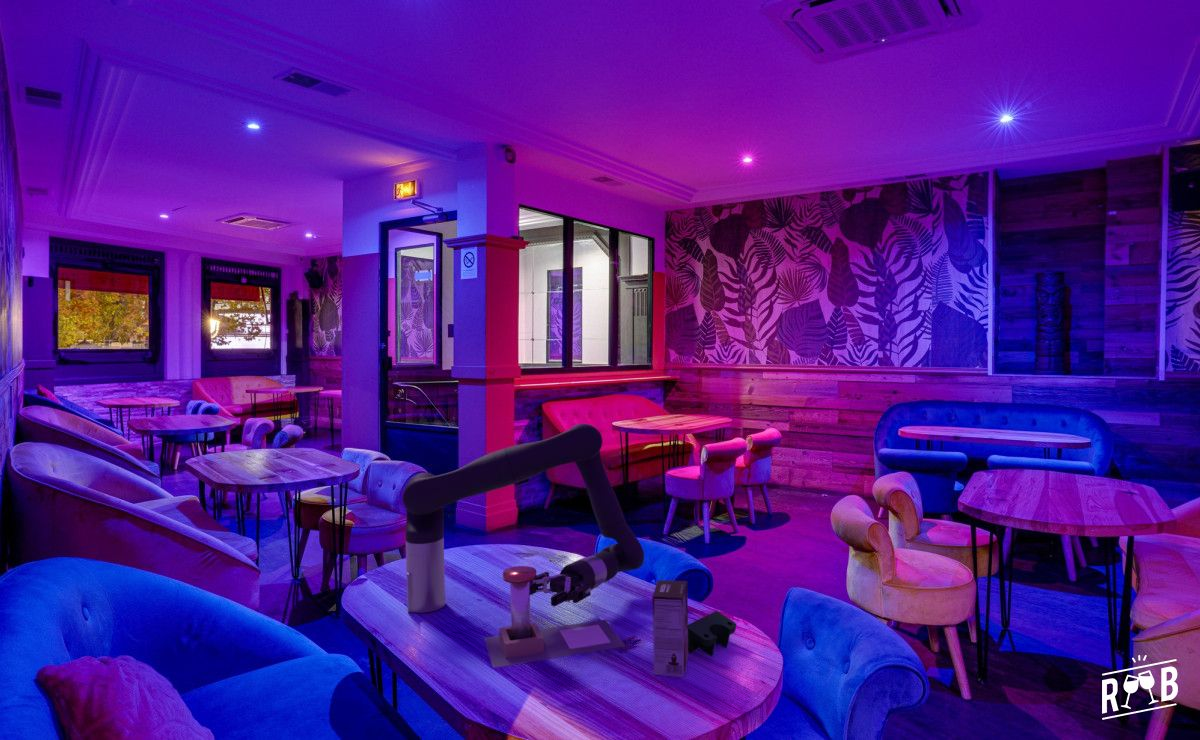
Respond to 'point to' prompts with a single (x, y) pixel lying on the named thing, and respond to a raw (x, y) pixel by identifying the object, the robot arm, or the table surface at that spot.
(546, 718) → the table surface
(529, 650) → the board
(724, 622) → the clamp
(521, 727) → the table surface
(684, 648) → the coffee box
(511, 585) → the mushroom shaped post
